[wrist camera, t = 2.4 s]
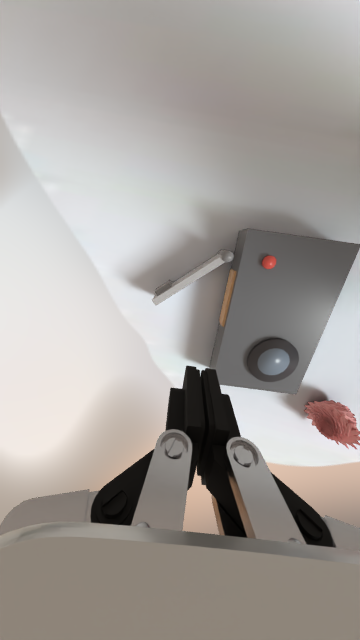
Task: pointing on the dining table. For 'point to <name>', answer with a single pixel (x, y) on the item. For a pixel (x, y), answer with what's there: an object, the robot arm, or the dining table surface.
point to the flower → (334, 421)
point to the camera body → (277, 307)
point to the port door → (191, 276)
